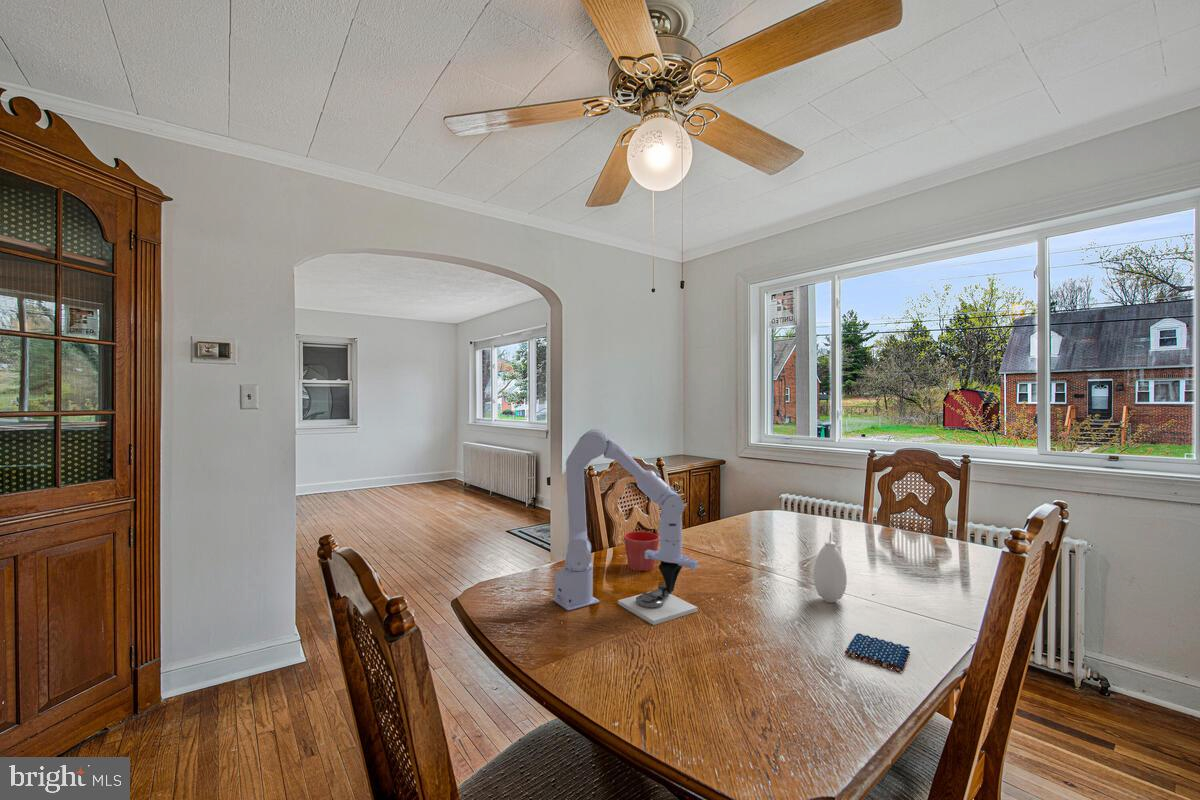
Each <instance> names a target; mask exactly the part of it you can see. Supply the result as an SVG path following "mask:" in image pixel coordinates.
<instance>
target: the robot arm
mask: <svg viewBox="0 0 1200 800" xmlns="http://www.w3.org/2000/svg"><path fill="white" fill-rule="evenodd" d="M602 455H603V458H604V459H610V460H614V461H616V462H617V463H618V464H619V465H620V466H621V467H623V468H624V469H625V470H626V471H627V472H628V473H629V474H630V475H632V476H633V477H634V478H635V479H636V486H637V488H638V489H639V490H640V491H641V492H642V493H643V494H645V496H646V497H648V498H649V499H650V501H652V502H653V503H654V504H656V505H658V507H659V508H660V519H659V550H657V551H653V550H647V551H645V559H653V560H655V561H658V562H660V564H658V569H659V571H660V573H661V575H662V577H663V580H664V583H665V584H666V588H667V592H668V593H671V594H672V592H674V590H675V584H676V582H677V578H678V576H679V575H680V571H681V570H682V568H683V567H684V568H689V569H690V570H693V571H696V570H698V568H699V560H697V559H695V558H694V559H693V558H691V557H688V556H686V555H683V521H682V520H683V519H682V518H683V513H684V510H685V504H684V501H683V498H682V497H681V496H680V494H678V493H677V491H676V490H674V489H675V487H673V486H672V485H669V484H667V483H666V482H665V481H664V479H662V478H661V474H660V473H659V472H658V471H656V472H654V471H653V470H651V469H650V470H645V469H644V468H643V467H642V466H641V465H640V464H639V463H637V461H636V460H635V459H634V458H633V457H632V456H631V455H630V454H629V453H628V452H627V451H626V450H625V449H624V448H623V447H622V446H621V445H620V444H618V443H617V442H616V441H614V440H613V439H612V438H610V437H609V436H606V435H605V434H604V433H603V431H601V430H599V429H594V428H593V429H590V430H588V431H587V432H585V433H584V434H582V436H581V437H579V439H578V441H576V444H575V445H574V447H573V448H572V450H571V452H570V454H569V455H568V456H567V458H566V462H565V471H566V472H565V474H566V491H567V492H566V493H567V494H566V495H567V515H568V516H567V517H568V544H567V550H566V555H565V563H564V567H563V568H561V569H559V570H557V571H556V572H555V574H554V582H553V583H554V585H553V586H554V587H553V588H554V589H553V591H554V596H553V598H552V600H553V602H555V603H557V604H558V605H559V606H561V607H562V608H564V609H565V610H566V611H573V610H575V609H576V610H577V609H580V608H582V607H587V606H591V605H595V604H598V603H600V600H599V599H597V598H596V597H594V596H593V594H594V589H593V588H594V586H593V585H594V584H593V583H594V580H593V579H594V564H593V562H592V555H591V554H592V543H591V542H590V540H589V537H588V527H587V513H586V512H587V511H586V510H587V509H586V507H587V506H586V490H585V471H584V469H585V468H586V467H587V466H588V464H590V462H591V461H592V460H593V461H594V459H597V458H598V457H600V456H602Z"/></svg>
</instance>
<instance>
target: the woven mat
mask: <svg viewBox="0 0 1200 800" xmlns="http://www.w3.org/2000/svg"><path fill="white" fill-rule="evenodd" d="M910 648H911V647H910V646H909V645H905V646H904V645H903V644H901V643H894V642H893V641H888V640H885V639H883V638H882V639H881V638H878V637H873V636H872V637H871V636H870V635H869V634H863V633H860V632H858V633H856V634H855V635H854V637H853V638H852V639H851V641H850V643H849V644H848V647H846V650H844V653H845V655H846V656H847V658H849V657H851V658H852V659H857V661H859V660H861V659H862V660H863V662H864V661H865V662H864V663H868V661H869V663H870V662H871V663H876V666H878V665H880V666H881V665H882V668H884V667H886V668H889V667H890V669H891V668H892V667H893V668H892V669H895V671H896V670H897V671H900V672H901V670H902V671H903V670H904V667H905V664H906V663H907V659H908V656H910V655H909V654H911V651H910V650H909V649H910ZM856 655H857V656H856ZM846 656H845V657H846ZM862 660H861V661H862ZM867 660H868V661H867ZM905 662H906V663H905ZM871 663H870V664H871ZM900 669H901V670H900ZM897 671H896V672H897Z"/></svg>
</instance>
